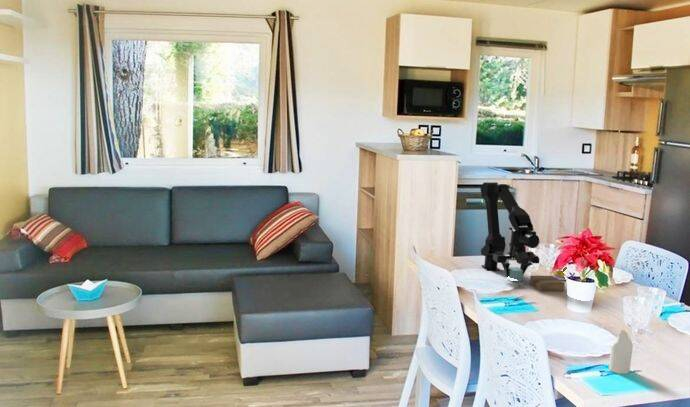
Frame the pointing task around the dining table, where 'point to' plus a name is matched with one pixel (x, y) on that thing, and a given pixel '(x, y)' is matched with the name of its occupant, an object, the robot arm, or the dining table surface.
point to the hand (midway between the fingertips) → (514, 277)
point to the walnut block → (547, 283)
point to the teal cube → (515, 273)
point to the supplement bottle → (559, 274)
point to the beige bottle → (621, 354)
